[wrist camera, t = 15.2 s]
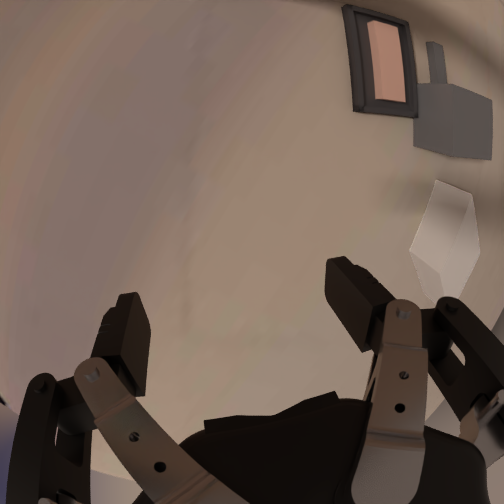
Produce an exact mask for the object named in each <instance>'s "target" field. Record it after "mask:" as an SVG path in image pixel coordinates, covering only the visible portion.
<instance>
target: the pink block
mask: <svg viewBox="0 0 504 504" xmlns="http://www.w3.org/2000/svg"><path fill="white" fill-rule="evenodd" d="M367 25H368V32H369V38H370V46H371V54H372V63H373V73H374V85H375V99H381V100H388V101H395V102H406V101H405V85H404V73H403V63H402V55H401V47H400V40H399V34H398V28H397V27H395V26H392V25H388V24H385V23H382V22H378V21H374V20H373V21H371V22H368V23H367Z"/></svg>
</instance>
